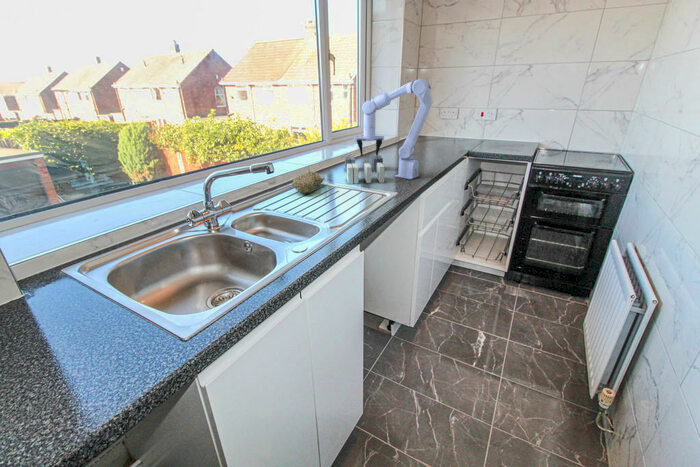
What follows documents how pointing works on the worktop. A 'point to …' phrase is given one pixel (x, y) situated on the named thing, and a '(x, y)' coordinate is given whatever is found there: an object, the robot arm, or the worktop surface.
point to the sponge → (307, 182)
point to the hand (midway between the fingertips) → (369, 155)
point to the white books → (354, 173)
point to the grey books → (373, 161)
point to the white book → (367, 172)
